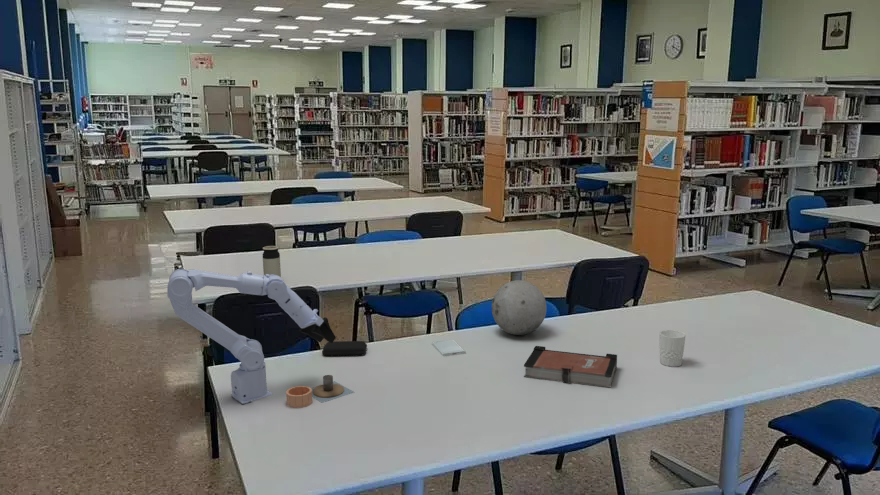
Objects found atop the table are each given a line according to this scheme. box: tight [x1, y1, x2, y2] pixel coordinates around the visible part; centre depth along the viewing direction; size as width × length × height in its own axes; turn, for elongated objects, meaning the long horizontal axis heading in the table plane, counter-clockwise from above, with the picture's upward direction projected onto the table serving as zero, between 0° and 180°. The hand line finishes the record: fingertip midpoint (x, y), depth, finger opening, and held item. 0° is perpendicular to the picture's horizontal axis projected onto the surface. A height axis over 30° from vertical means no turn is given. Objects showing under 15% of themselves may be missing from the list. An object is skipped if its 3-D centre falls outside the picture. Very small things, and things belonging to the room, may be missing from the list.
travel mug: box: [262, 245, 282, 278], centre depth 323 cm, size 8×8×18 cm
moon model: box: [491, 279, 547, 336], centre depth 247 cm, size 20×20×20 cm
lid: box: [313, 374, 345, 398], centre depth 197 cm, size 9×9×5 cm
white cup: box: [659, 329, 687, 368], centre depth 218 cm, size 8×8×10 cm
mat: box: [310, 380, 355, 404], centre depth 198 cm, size 11×11×1 cm
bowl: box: [285, 385, 313, 409], centre depth 190 cm, size 7×7×4 cm
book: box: [523, 345, 618, 389], centre depth 211 cm, size 26×18×5 cm
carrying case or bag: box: [321, 340, 368, 357], centre depth 232 cm, size 11×3×15 cm
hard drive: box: [431, 339, 467, 357], centre depth 234 cm, size 2×8×12 cm
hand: (327, 340), depth 201 cm, fingers open, 7 cm apart
